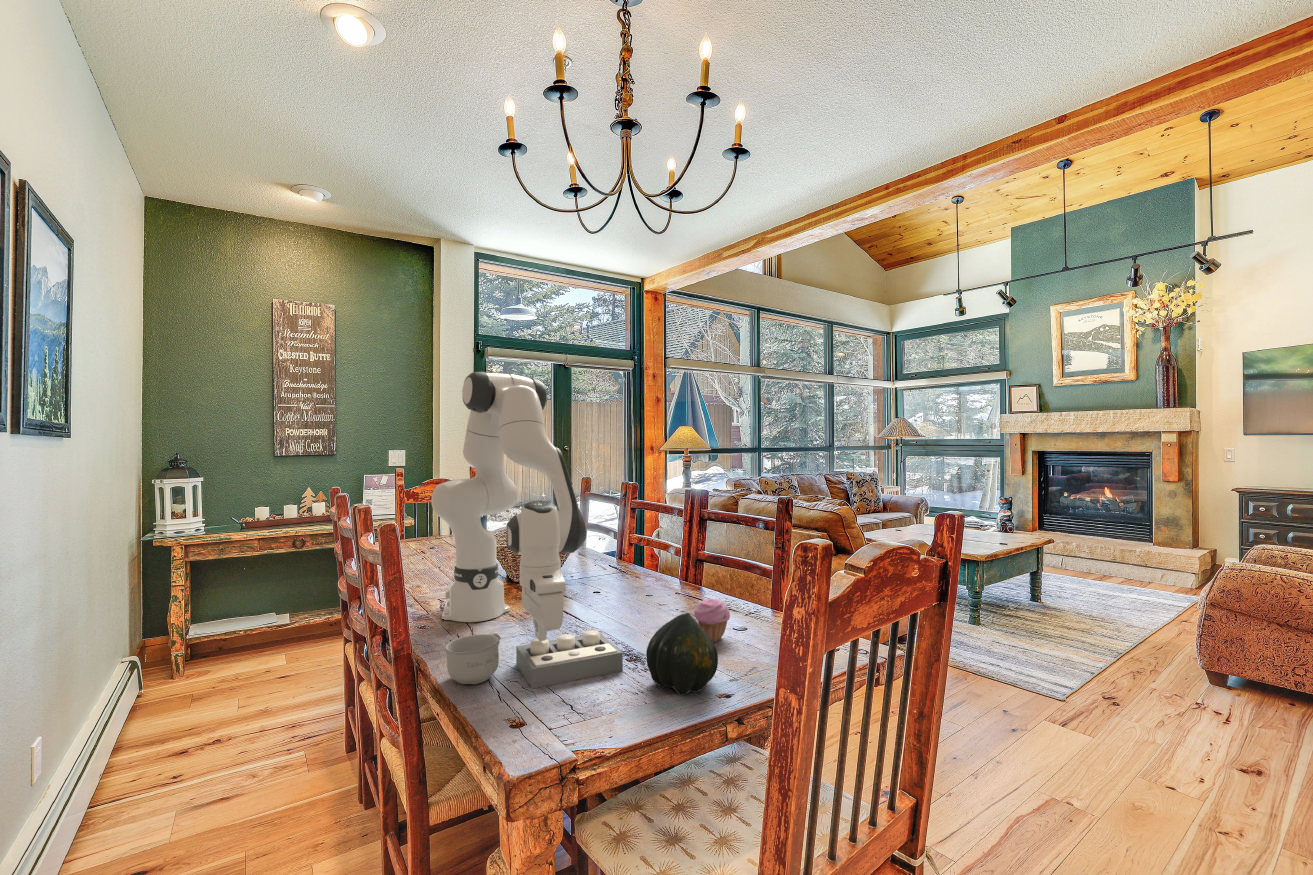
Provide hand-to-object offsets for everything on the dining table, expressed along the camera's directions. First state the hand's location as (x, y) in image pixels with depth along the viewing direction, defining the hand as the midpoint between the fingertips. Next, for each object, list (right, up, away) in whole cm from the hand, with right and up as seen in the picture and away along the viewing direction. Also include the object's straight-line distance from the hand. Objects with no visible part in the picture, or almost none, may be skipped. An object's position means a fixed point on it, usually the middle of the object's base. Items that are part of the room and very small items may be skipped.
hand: (540, 638), depth 129 cm
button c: (+11, -4, +5) cm, 12 cm away
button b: (+5, -4, +3) cm, 7 cm away
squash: (+31, -7, -8) cm, 32 cm away
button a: (0, -4, 0) cm, 4 cm away
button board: (+6, -7, +1) cm, 9 cm away
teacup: (-13, -7, -4) cm, 15 cm away
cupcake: (+40, -7, +19) cm, 44 cm away
